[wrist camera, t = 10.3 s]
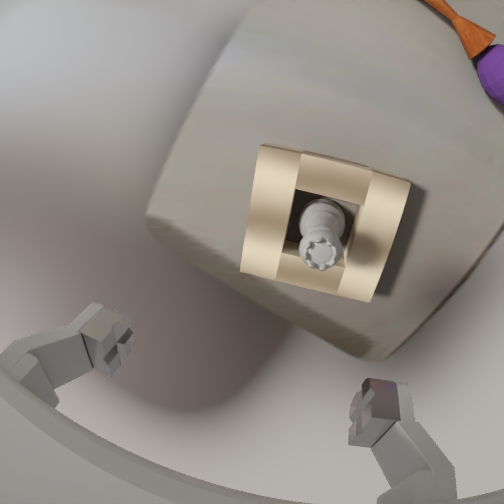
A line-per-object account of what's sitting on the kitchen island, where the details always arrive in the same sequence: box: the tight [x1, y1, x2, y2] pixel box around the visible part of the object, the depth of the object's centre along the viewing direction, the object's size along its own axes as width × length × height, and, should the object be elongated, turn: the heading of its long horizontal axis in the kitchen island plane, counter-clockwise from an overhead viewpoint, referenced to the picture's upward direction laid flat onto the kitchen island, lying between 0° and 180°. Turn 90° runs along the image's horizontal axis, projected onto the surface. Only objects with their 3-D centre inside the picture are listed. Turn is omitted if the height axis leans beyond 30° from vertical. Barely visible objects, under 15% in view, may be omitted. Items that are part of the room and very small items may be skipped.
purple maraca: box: [424, 0, 504, 105], centre depth 15 cm, size 6×6×20 cm
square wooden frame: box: [240, 143, 411, 303], centre depth 27 cm, size 12×13×3 cm
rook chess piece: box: [298, 199, 345, 271], centre depth 25 cm, size 4×4×8 cm
